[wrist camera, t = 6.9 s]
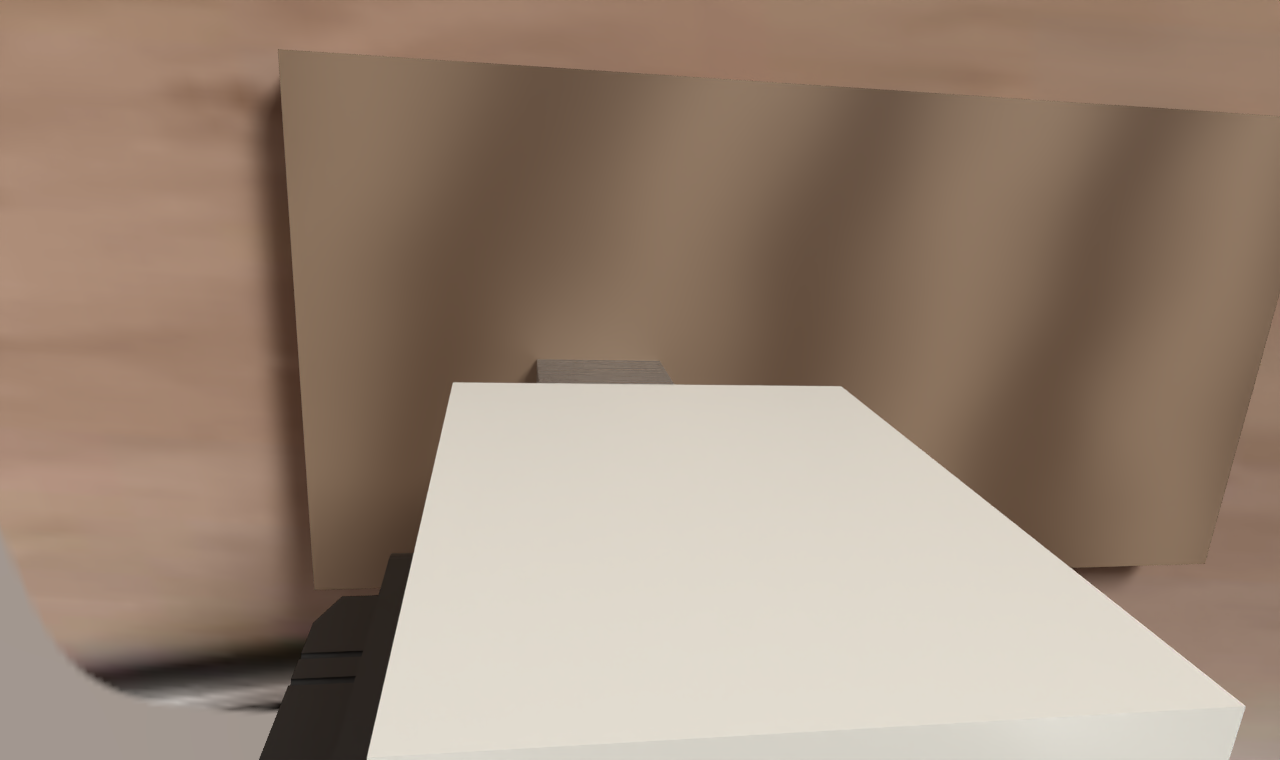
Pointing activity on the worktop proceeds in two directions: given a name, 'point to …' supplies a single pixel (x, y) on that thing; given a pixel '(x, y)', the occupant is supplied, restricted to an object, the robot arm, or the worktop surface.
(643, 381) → the post
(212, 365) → the worktop surface
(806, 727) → the white rectangular block
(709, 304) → the board
